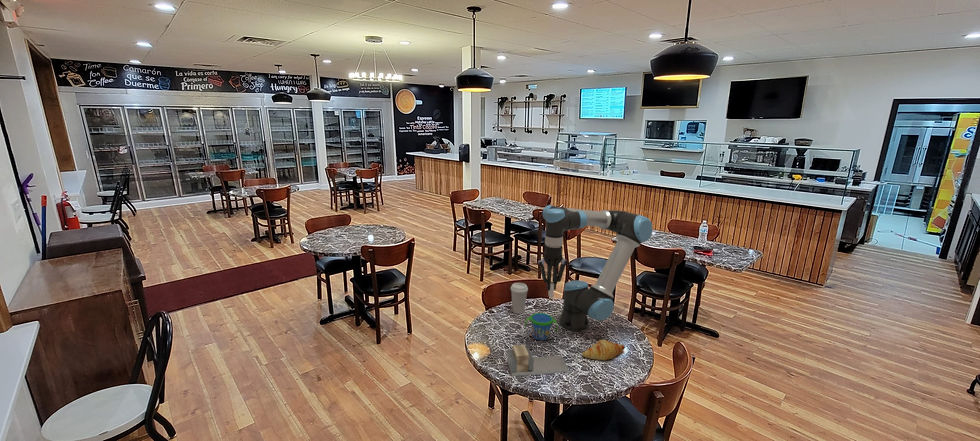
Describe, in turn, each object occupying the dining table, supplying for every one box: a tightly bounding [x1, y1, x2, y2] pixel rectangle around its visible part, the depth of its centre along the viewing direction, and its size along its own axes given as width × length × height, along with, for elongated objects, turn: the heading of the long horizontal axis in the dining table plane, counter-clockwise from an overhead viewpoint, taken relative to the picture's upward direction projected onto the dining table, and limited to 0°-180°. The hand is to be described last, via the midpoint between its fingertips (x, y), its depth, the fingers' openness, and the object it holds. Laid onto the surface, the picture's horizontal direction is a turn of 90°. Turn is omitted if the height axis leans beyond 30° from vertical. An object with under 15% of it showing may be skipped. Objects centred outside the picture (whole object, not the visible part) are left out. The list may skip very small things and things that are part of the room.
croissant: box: [581, 339, 626, 361], centre depth 181 cm, size 21×10×8 cm, turn 108°
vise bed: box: [506, 355, 569, 377], centre depth 172 cm, size 24×10×2 cm, turn 98°
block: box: [512, 344, 529, 371], centre depth 170 cm, size 5×8×7 cm, turn 8°
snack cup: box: [524, 312, 559, 341], centre depth 195 cm, size 16×10×10 cm
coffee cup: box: [510, 282, 529, 315], centre depth 221 cm, size 10×10×15 cm
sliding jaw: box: [526, 347, 534, 370], centre depth 171 cm, size 6×11×5 cm, turn 8°
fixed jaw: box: [507, 348, 517, 373], centre depth 169 cm, size 2×9×5 cm, turn 8°
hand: (550, 296), depth 178 cm, fingers closed
